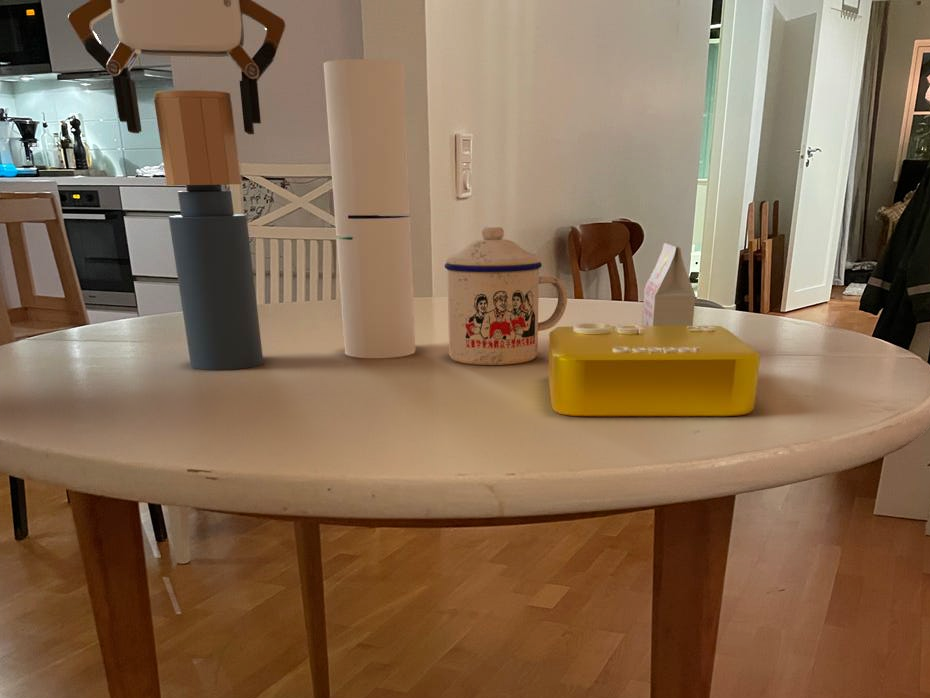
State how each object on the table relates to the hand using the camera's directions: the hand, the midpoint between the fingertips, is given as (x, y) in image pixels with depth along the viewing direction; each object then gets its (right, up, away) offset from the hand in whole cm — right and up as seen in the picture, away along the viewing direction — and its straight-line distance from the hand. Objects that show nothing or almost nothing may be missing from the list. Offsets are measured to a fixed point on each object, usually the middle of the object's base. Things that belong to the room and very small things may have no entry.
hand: (192, 132), depth 80 cm
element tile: (+38, -25, -6) cm, 46 cm away
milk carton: (+43, -16, +10) cm, 47 cm away
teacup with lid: (+28, -16, +11) cm, 34 cm away
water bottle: (+1, -17, +9) cm, 20 cm away
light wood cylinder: (0, -3, +2) cm, 4 cm away
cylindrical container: (+15, -15, +14) cm, 25 cm away
